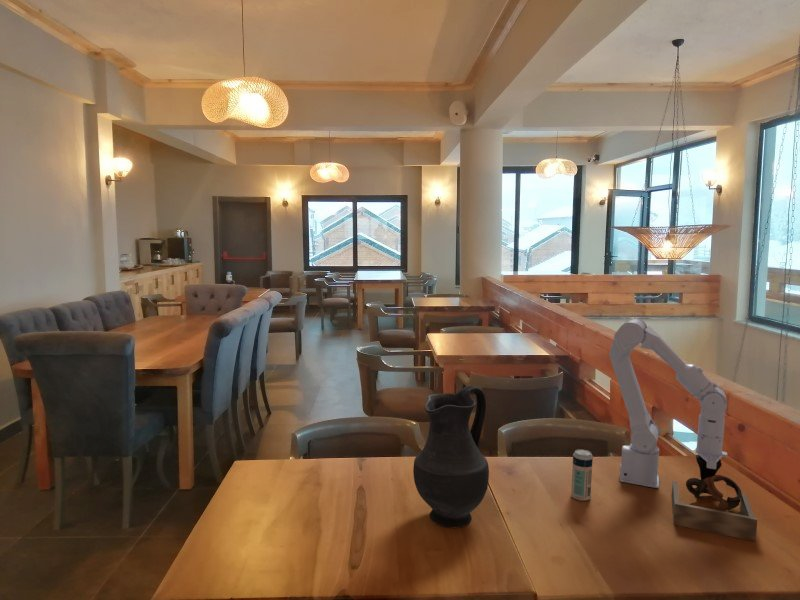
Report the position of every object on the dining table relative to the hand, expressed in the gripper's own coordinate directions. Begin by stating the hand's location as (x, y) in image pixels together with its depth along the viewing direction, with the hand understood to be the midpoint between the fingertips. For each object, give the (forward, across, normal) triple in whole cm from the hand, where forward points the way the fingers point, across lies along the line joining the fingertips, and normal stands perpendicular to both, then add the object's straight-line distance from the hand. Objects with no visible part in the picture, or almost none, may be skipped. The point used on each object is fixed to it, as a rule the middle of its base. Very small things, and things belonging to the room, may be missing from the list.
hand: (706, 484), depth 140 cm
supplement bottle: (+3, -16, +29) cm, 34 cm away
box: (+2, -13, 0) cm, 13 cm away
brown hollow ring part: (+3, -5, -1) cm, 6 cm away
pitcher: (+3, -38, +55) cm, 67 cm away
